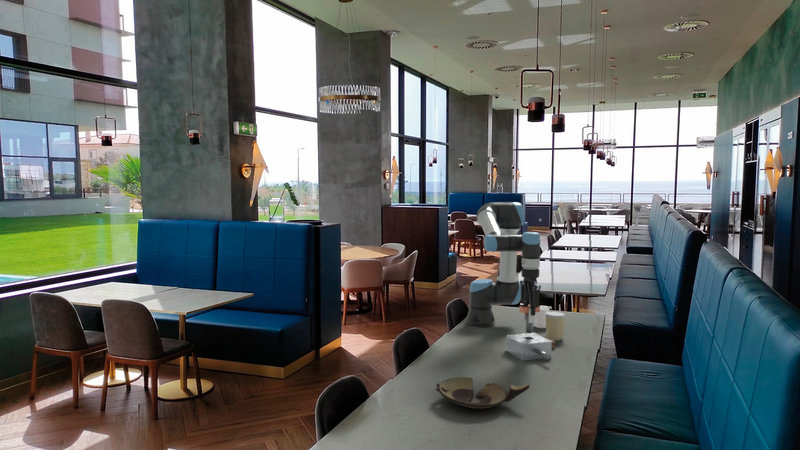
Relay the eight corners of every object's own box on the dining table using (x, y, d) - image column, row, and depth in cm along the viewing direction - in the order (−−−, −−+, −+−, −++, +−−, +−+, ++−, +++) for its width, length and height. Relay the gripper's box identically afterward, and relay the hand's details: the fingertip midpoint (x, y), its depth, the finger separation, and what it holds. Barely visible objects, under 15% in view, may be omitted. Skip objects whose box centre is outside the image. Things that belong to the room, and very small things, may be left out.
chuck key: (519, 332, 234) (519, 305, 234) (535, 330, 237) (535, 304, 236) (523, 334, 231) (523, 307, 230) (539, 332, 234) (539, 306, 233)
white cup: (532, 327, 278) (533, 308, 277) (533, 324, 285) (534, 305, 284) (548, 329, 275) (549, 310, 274) (549, 325, 283) (549, 306, 282)
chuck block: (506, 350, 240) (506, 335, 239) (533, 347, 244) (534, 332, 243) (533, 367, 218) (534, 350, 217) (563, 364, 222) (564, 347, 221)
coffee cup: (562, 335, 264) (563, 311, 263) (566, 341, 254) (567, 316, 254) (543, 334, 265) (543, 311, 264) (546, 340, 255) (547, 315, 254)
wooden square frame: (530, 344, 249) (530, 338, 249) (545, 343, 251) (545, 336, 251) (539, 349, 241) (539, 343, 241) (554, 348, 244) (555, 341, 243)
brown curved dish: (452, 385, 198) (452, 365, 198) (532, 402, 183) (533, 380, 183) (424, 407, 179) (425, 385, 178) (512, 428, 164) (512, 404, 163)
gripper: (513, 265, 239) (512, 317, 240) (532, 271, 223) (531, 326, 225) (528, 265, 241) (527, 316, 243) (548, 270, 225) (547, 325, 227)
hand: (529, 321), depth 234 cm, fingers closed on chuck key, 3 cm apart
